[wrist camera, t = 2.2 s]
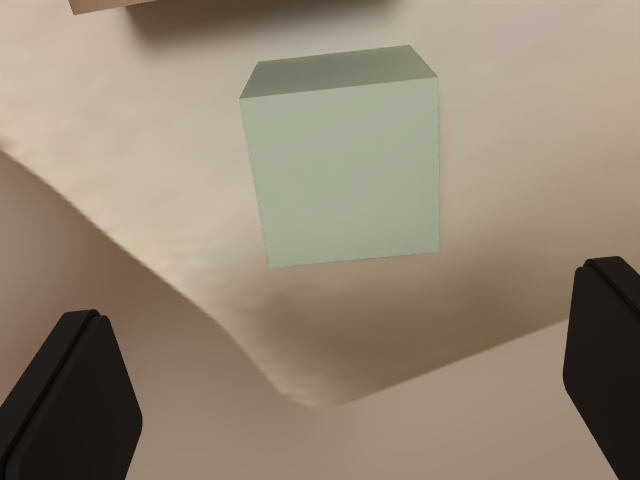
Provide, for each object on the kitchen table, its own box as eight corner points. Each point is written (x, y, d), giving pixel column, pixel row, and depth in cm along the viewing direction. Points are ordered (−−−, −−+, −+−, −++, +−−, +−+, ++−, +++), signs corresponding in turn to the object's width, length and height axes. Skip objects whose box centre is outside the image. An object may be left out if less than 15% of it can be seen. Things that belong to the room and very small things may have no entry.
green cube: (409, 44, 22) (438, 77, 17) (413, 185, 25) (439, 252, 19) (258, 61, 22) (239, 99, 17) (279, 198, 25) (268, 268, 20)
